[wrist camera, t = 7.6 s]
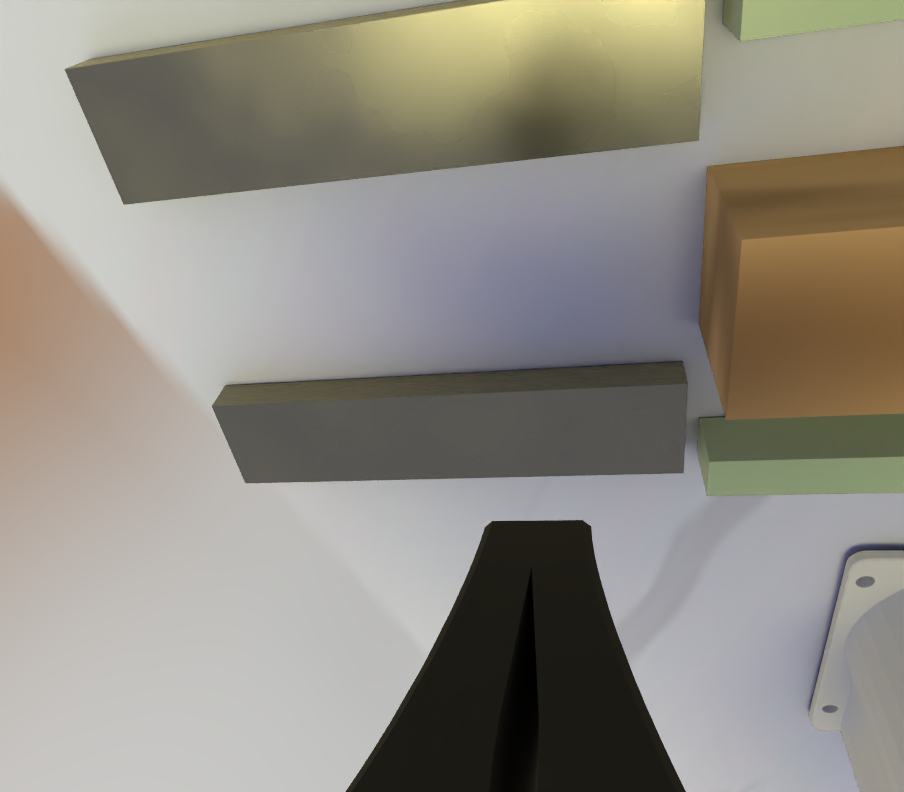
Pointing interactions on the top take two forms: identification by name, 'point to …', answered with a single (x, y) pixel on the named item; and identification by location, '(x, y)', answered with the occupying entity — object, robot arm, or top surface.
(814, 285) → the block
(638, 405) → the slot rails
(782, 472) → the tray
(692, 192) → the top surface
